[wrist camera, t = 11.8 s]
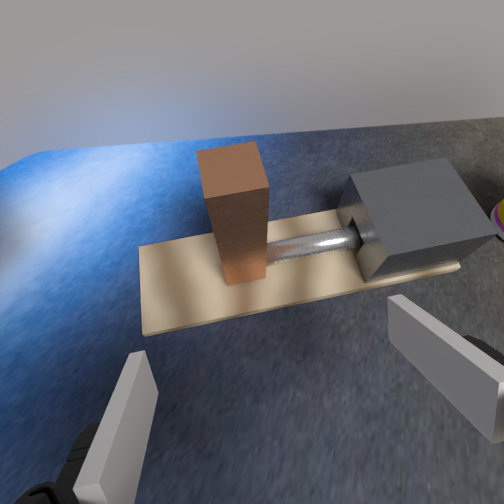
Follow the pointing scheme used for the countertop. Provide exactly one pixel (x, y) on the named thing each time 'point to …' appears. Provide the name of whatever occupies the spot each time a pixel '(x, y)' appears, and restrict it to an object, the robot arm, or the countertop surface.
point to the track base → (248, 293)
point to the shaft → (254, 216)
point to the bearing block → (412, 219)
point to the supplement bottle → (498, 218)
